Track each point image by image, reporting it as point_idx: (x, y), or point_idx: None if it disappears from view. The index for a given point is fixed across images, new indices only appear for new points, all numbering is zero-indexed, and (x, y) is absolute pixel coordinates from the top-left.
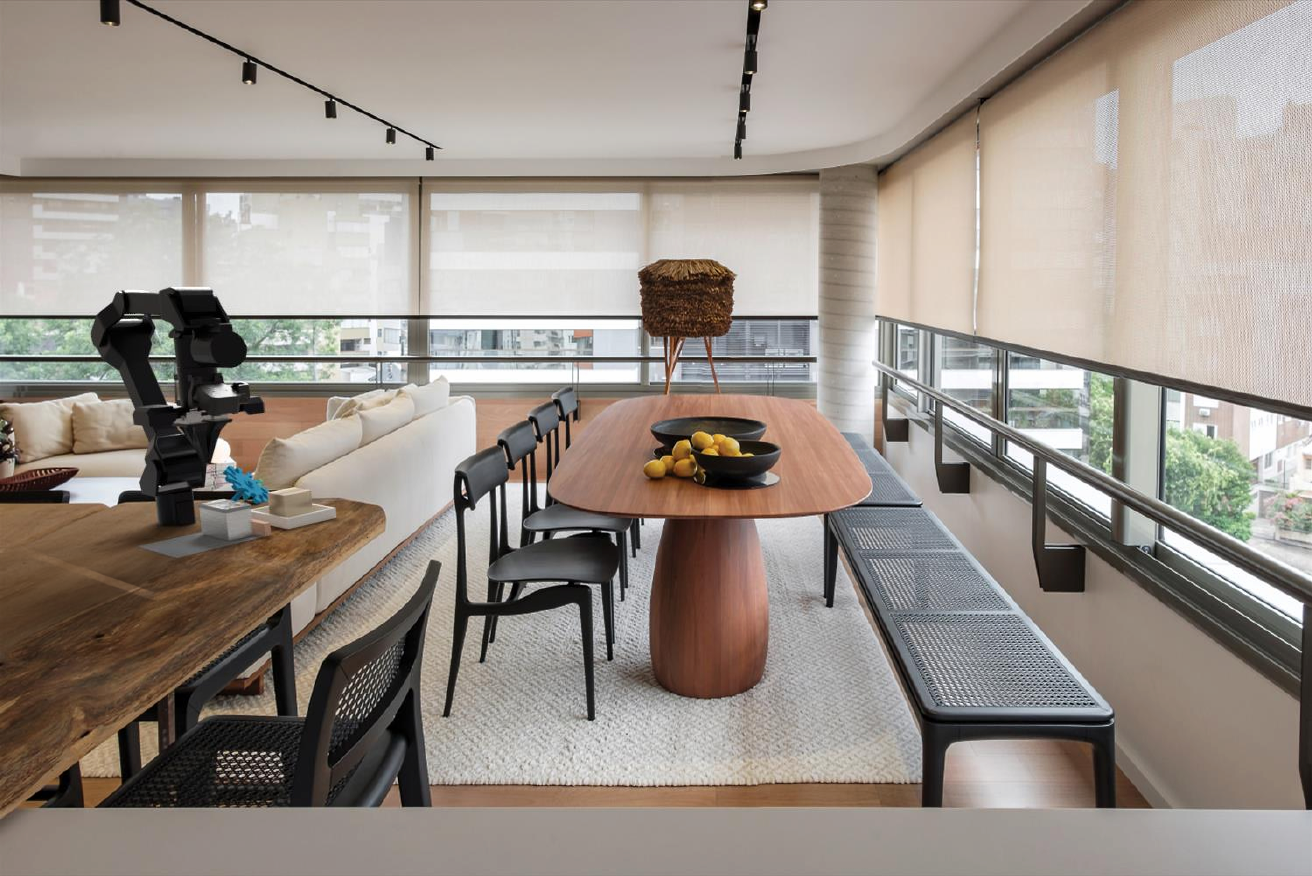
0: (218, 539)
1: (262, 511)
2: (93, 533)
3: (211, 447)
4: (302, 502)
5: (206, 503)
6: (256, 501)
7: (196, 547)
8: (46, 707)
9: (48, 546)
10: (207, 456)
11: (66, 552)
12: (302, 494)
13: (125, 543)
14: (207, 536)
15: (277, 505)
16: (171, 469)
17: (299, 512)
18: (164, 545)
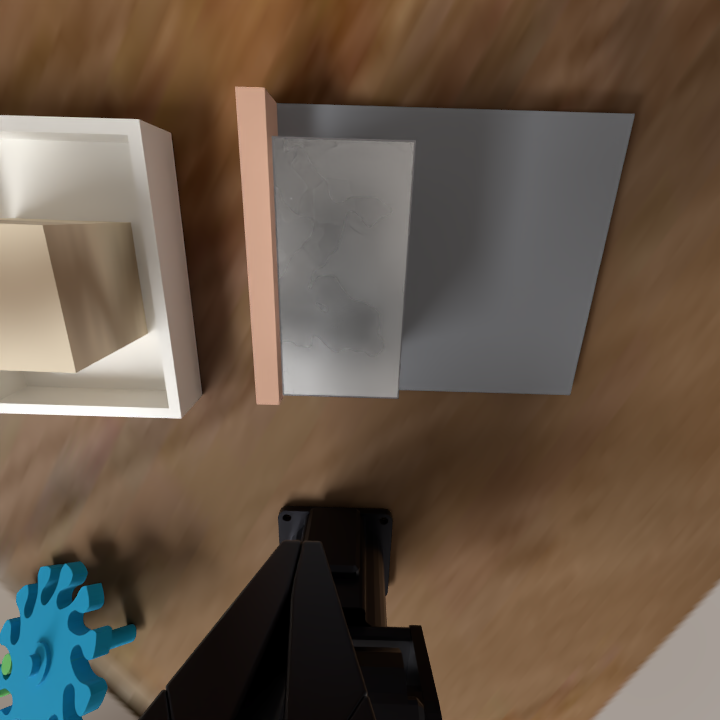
0: None
1: (133, 401)
2: (481, 645)
3: (244, 645)
4: None
5: (375, 376)
6: (77, 569)
7: (504, 199)
8: None
9: (604, 621)
10: (304, 577)
11: (631, 541)
12: None
13: (512, 502)
14: None
15: (95, 286)
16: (385, 704)
17: (44, 220)
18: (530, 331)
